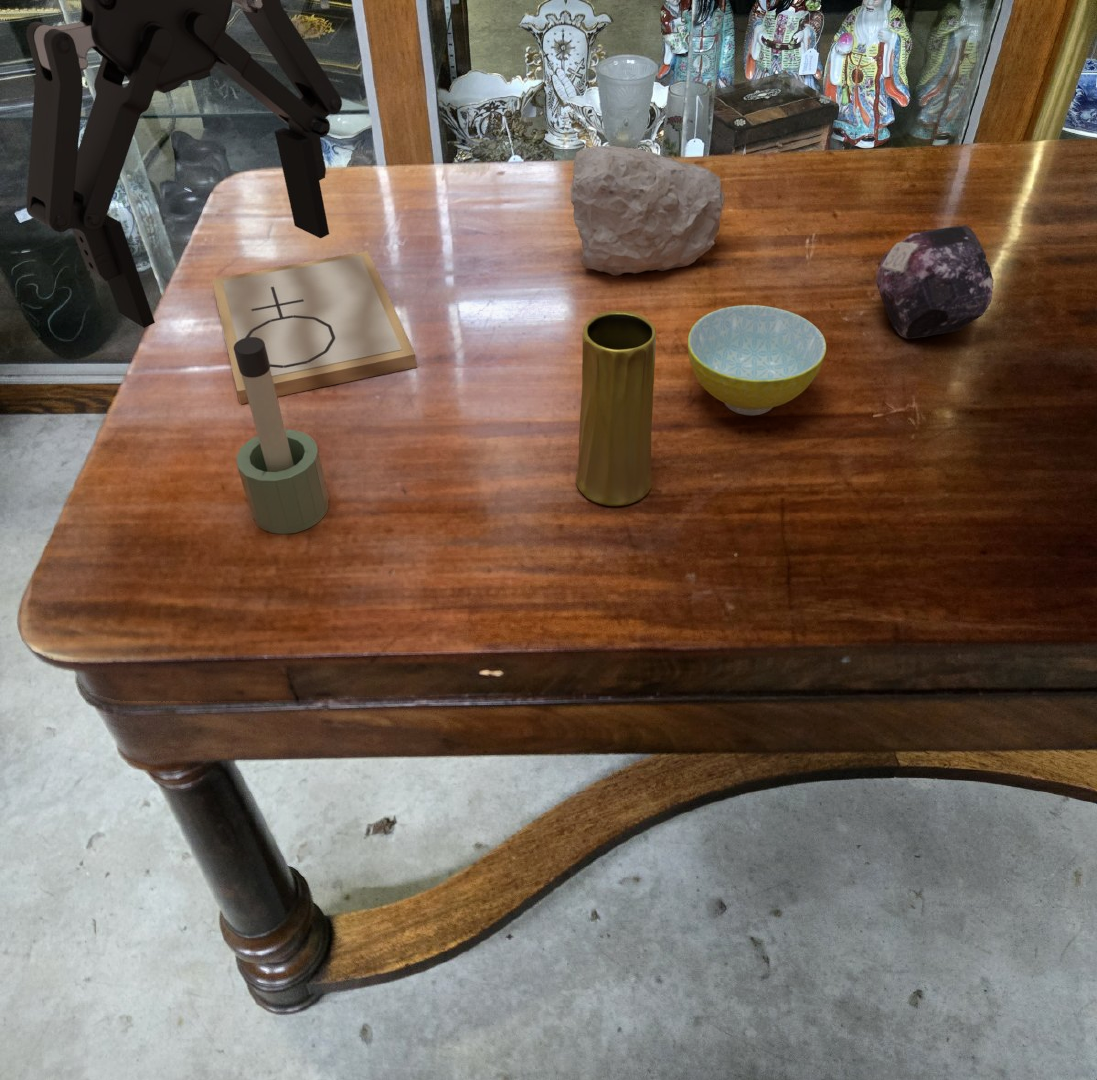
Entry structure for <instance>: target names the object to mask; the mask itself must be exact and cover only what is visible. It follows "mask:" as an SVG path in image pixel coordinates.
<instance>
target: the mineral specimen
mask: <svg viewBox="0 0 1097 1080" xmlns="http://www.w3.org/2000/svg"><path fill="white" fill-rule="evenodd" d="M994 281H995V280H994V277H993V274H992V271H991V267H990V265H989V263H988V260H987V255H986V252H985V250H984V248H983V246H982V244H981V243H980V239H979V238H978V237H977V235H976V233H975V232H974V231H973V229H972V228H971V227H969V226H968V225H967V224H965V225H956V226H949V227H943V228H936V229H930V230H925V231H920V232H913V233H911V234H908V236H907V237H905V238H904V239H903V240H902V241H899V242H896V243H895V244H894V245H893V247H892V248H891V249H890V250H889V251H887V252H886V253H884V254H883V256H881V260H880V261H879V264H878V267H877V272H876V279H875V282H876V286H877V289H878V293H879V295H880V298H881V301H882V303H883V306H884V308H885V311H886V314H887V317H888V319H889V321H890V323H891V325H892V327H893V329H894V330H895V332H896V333H897V334H898V335H899V336H900V337H902V338H903V339H918V338H925V337H926V338H927V337H930V336H935V335H941V334H942V335H943V334H947V333H953V332H957V331H960V330H962V329H963V328H965V327H966V326H968V325H970V324H972V323H973V322H974V321H977V320H978V319H979V318H981V317H983V316H984V314H985V313H986V312H987V310H988V308H989V306H990V305H991V303H992V300H993V290H994Z"/></svg>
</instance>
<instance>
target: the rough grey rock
mask: <svg viewBox="0 0 1097 1080" xmlns="http://www.w3.org/2000/svg"><path fill="white" fill-rule="evenodd" d="M721 183H722V180H721V177H720V176H719V175H717V174H716V173H714V172H713V171H711V170H710V169H709V168H707V167H703V166H701V165H698V164H694V163H690V162H685V161H679V160H677V159H675V158H670V157H666V156H665V155H661V154H659V153H656V152H652V151H648V150H644V149H640V148H635V147H629V148H627V147H625V146H616V145H605V146H604V145H593V146H590V147H589V146H587V147H586V146H585V147H582V148H581V149H580V150H578V151H577V152H575V154H574V161H573V165H572V182H571V186H570V203H571V204H572V206H573V221H574V224H575V227H576V228H577V231H578V235H579V237H580V240H581V245H582V251H583V252H582V259H581V264H582V265H583V266H584V267H585V268H586V269H590V270H594V271H597V272H599V273H600V272H603V273H607V274H609V275H611V276H621V275H622V274H626V273H630V274H638V273H644V272H646V271H655V270H657V271H660V272H664V271H669V270H671V269H677V268H683V267H687V266H689V265H691V264H693V263H695V262H696V261H697V259H699V258H700V257H702V256H703V255H704V254H705V253H707V252H708V251H710V249H712V247H713V246H714V245H715V239H716V237H717V234H718V232H719V231H720V224H721V223H720V220H721V216H722V212H723V206H724V204H725V193H724V191H723V189H722V185H721Z"/></svg>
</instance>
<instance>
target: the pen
mask: <svg viewBox="0 0 1097 1080" xmlns="http://www.w3.org/2000/svg"><path fill="white" fill-rule="evenodd" d="M234 352H235V356H236V360H237V363H238V367H239V371H240V373H241V375H242V379H243V383H244V386H245V390H246V394H247V397H248V401H249V403H248V405H249V409H250V412H251V415H252V419H253V423H254V427H255V431H256V434H257V436H258V438H259V442H260V445H261V449H262V453H263V456H264V460H265V464H266V467H267V471H268V472H278V471H283V470H287V469H289V468H291V467H293V466H294V464H293V460H292V456H291V451H290V447H289V443H288V439H287V435H286V431H285V430H286V427H285V424H284V420H283V416H282V411H281V408H280V403H279V400H278V397H277V395H276V391H275V387H274V382H273V378H272V374H271V370H270V363H269V359H268V355H267V351H266V347H265V343H264V341H263V340H262V339H260V338H257V337H247V338H243V339H241V340H239V341H238V342H236V343H235V345H234Z"/></svg>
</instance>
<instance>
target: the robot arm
mask: <svg viewBox="0 0 1097 1080" xmlns="http://www.w3.org/2000/svg"><path fill="white" fill-rule="evenodd" d="M233 5H234V6H235V8H236V9H239V10H241V11H242V12H243V14H244V16H245V18H246V19H247V21H248V22H249V23H250V26H251V27H252V28H253V30H254V31H255V32H256V34H257V35H258V37H259V38H260V40H261V41H262V42H263V45H264V46H265V47H266V49H267V50H268V51H269V53H270V55H271V56H272V57H273V59H274V60H275V61H276V63H277V64H278V66H279V67H280V69H281V71H282V72H283V73H284V75H285V76H286V77H287V79H288V80H289V82H290V83H291V85H292V87H293V88H294V89H295V91H296V92H297V94H298V95H299V96H300V98H299V97H298V96H297V95H296V94H295V93H293V92H292V91H291V90H290V89H289V88H288V87H287V86H285V84H284V83H282V82H280V80H278V79H277V78H276V77H275V76H274V75H273V74H271V72H269V71H268V70H267V69H265V68H264V67H263V66H262V65H261V64H260V63H259V62H257V61H256V60H255V59H254V58H253V57H252V54H251V53H250V52H249V51H248V50H246V49H245V47H243V46H242V45H241V44H240V43H238V42H237V41H236V40H235V39H233V38H232V36H230V35H229V34H228V33H227V32H226V31H227V26H228V23H229V21H230V16H231V13H232V10H233V9H232V8H233ZM80 7H81V9H80V10H81V11H80V19H79V20H80V21H78V22H77V21H76V22H72V23H71V22H70V23H67V24H61V25H54V26H51V25H49V24H46V23H43V22H40V21H34V22H31V23H30V24H29V25H28V26H27V29H26V40H27V43H28V48H29V51H30V55H31V59H32V63H33V67H34V71H35V75H34V76H35V77H34V88H33V89H34V91H33V105H32V118H31V133H30V146H29V147H30V148H29V162H28V176H27V188H26V189H27V190H26V205H25V208H26V212H27V214H28V216H30V217H31V219H34V220H36V221H38V222H39V223H41V224H43V226H46V227H48V228H49V229H50V230H53V231H54V232H57V233H64V232H65V231H68V230H69V229H71V230H72V232H73V236H74V238H75V240H76V243H77V246H78V248H79V251H80V253H81V256H82V258H83V262H84V264H85V266H86V268H87V269H88V270H89V271H90V272H91V273H92V274H93V275H95V276H96V277H98V278H100V279H101V280H103V281H104V282H107V283H108V286H109V289H110V291H111V294H112V297H113V300H114V302H115V306H116V307H117V311H118V313H119V314H121V315H122V316H124V317H126V318H127V319H129V320H130V321H132V322H134V323H135V324H137V325H139V326H140V327H142V328H143V329H146V328H148V327H150V326H152V325H154V324H155V323H156V321H155V318H154V315H153V311H152V310H151V307H150V304H149V301H148V298H147V295H146V292H145V289H144V285H143V283H142V280H141V277H140V274H139V271H138V269H137V266H136V263H135V260H134V256H133V255H132V251H131V248H130V246H129V245H130V244H129V242H128V239H127V237H126V233H125V230H124V227H123V225H122V222H120V221H119V220H117V219H116V218H113V217H111V216H110V215H109V214H108V213H109V211H110V207H111V204H112V200H113V198H114V195H115V191H116V189H117V186H118V183H119V179H120V177H121V174H122V171H123V168H124V165H125V162H126V159H127V156H128V153H129V150H130V147H131V144H132V141H133V139H134V138H133V137H134V135H135V132H136V129H137V126H138V124H139V121H140V118H141V115H142V114H143V113H145V112H147V111H148V110H149V108H150V105H151V102H152V100H153V97H154V94H155V92H160V93H162V94H166V93H169V92H172V91H174V90H177V89H178V88H179V87H181V86H182V85H184V84H185V82H187V81H190V82H191V81H201V80H204V79H206V78H210V77H211V71H212V70H213V68H214V67H215V68H217V69H218V70H220V71H221V72H222V73H223V74H225V75H226V76H227V77H228V78H230V79H231V80H232V82H233V81H234V82H235V83H236V84H237V85H238V86H240V87H241V89H243V90H244V91H246V93H248V94H249V95H251V96H252V97H253V98H254V99H256V100H257V101H258V102H259V103H260V104H262V105H263V106H264V107H265V108H267V109H268V110H269V111H270V112H271V113H272V114H274V115H275V116H277V118H279V119H280V120H281V121H282V122H283V123H285V124H287V125H288V128H287V127H281V128H279V129H277V130H274V136H275V140H276V144H277V145H276V146H277V149H278V155H279V159H280V163H281V169H282V172H283V178H284V181H285V187H286V192H287V196H288V199H289V200H288V202H289V205H290V209H291V214H292V219H293V224H294V227H296V228H298V229H300V230H302V231H304V232H306V233H308V234H310V235H312V236H314V237H317V238H319V239H323V238H325V237H327V236H329V235H330V229H329V225H328V219H327V215H326V210H325V204H324V199H323V193H322V188H321V182H320V181H321V180H323V179H326V173H327V167H326V163H325V157H324V151H323V145H322V141H321V140H322V139H321V138H325V137H327V135H328V134H329V132H330V130H331V124H330V121H329V119H328V118H327V117H329V115H337V114H338V113H339V112H341V110H342V107H343V100H342V97H341V96H340V94H339V93H338V91H337V90H336V88H335V86H334V85H333V84H332V82H331V80H330V79H329V77H328V76H327V74H326V73H325V71H324V69H323V68H322V66H321V65H320V63H319V62H318V60H317V58H316V57H315V56H314V54H313V52H312V51H311V49H310V47H309V46H308V45H307V43H306V40H304V38H303V37H302V35H301V34H300V32H299V30H298V29H297V27H296V25H295V24H294V23H293V21H292V20H291V18H290V16H289V15H288V13H287V12H286V11H285V9H284V6H283V5H282V2H281V0H80ZM91 49H93V50H94V51H95V52H96V53H97V54H98V55H100V56H101V57H102V58H101V61H100V63H99V67H98V70H97V74H96V77H95V79H94V84H93V85H94V87H93V88H94V90H95V97H94V100H93V102H92V106H91V109H90V112H89V115H88V119H87V122H86V125H85V128H84V131H83V134H82V137H81V140H80V130H81V129H80V128H81V117H82V107H83V106H82V105H83V96H84V95H83V94H84V91H83V90H84V86H83V76H82V72H83V71H85V70H87V69H88V67H89V61H88V59H87V55H88V53H89V51H90V50H91ZM125 77H126V78H127V79H128V83H127V85H126V86H125V87H124V85H123V84H124V80H125ZM79 140H80V142H79Z"/></svg>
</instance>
